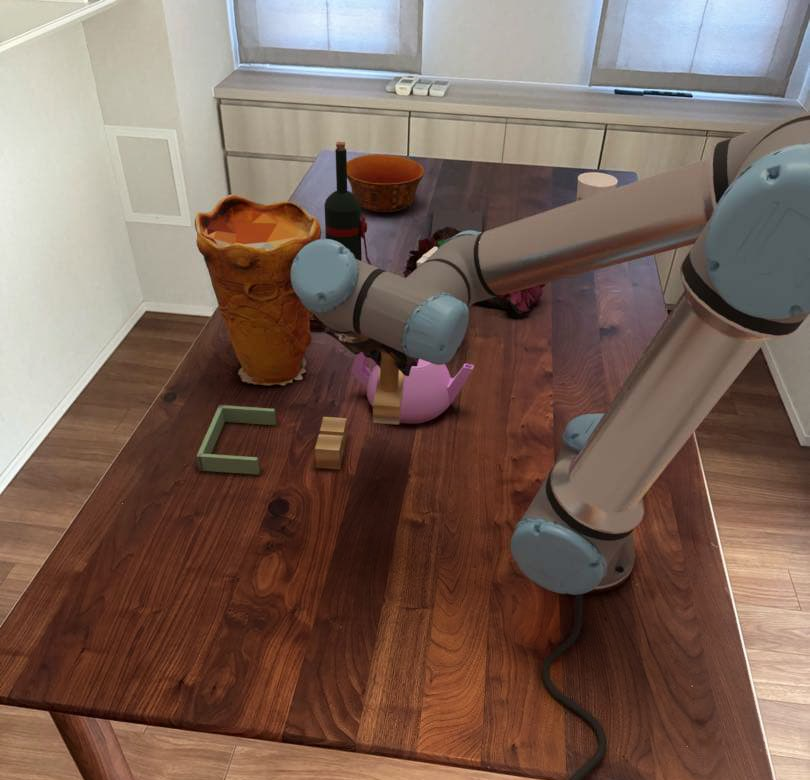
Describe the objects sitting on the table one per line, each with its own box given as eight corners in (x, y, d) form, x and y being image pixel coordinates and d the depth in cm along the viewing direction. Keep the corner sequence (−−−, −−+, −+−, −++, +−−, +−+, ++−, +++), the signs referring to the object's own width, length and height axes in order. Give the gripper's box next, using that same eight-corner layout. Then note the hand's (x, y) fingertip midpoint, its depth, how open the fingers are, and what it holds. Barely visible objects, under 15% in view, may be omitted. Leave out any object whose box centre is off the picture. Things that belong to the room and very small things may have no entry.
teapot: (339, 417, 141) (337, 358, 133) (364, 372, 152) (363, 314, 144) (460, 437, 138) (466, 377, 129) (476, 390, 149) (482, 332, 140)
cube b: (344, 451, 134) (343, 432, 131) (320, 449, 134) (319, 430, 132) (347, 437, 137) (346, 418, 134) (324, 435, 137) (323, 416, 134)
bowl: (437, 202, 215) (439, 164, 208) (395, 229, 201) (396, 188, 195) (373, 186, 222) (373, 148, 215) (328, 210, 209) (327, 170, 202)
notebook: (433, 214, 209) (429, 248, 194) (433, 208, 208) (430, 242, 192) (481, 216, 209) (481, 251, 193) (482, 210, 207) (482, 244, 192)
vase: (201, 397, 145) (171, 235, 124) (233, 341, 159) (211, 188, 138) (314, 408, 143) (303, 246, 122) (336, 351, 158) (330, 197, 137)
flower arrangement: (398, 310, 170) (399, 241, 160) (410, 270, 185) (412, 205, 174) (544, 323, 168) (554, 254, 158) (545, 281, 182) (555, 215, 172)
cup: (569, 222, 207) (575, 183, 200) (574, 208, 214) (580, 170, 207) (607, 228, 205) (615, 188, 198) (611, 213, 212) (619, 175, 205)
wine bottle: (370, 295, 175) (369, 151, 154) (324, 292, 176) (317, 148, 155) (374, 279, 181) (374, 138, 160) (329, 276, 181) (324, 135, 160)
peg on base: (399, 424, 120) (401, 340, 110) (372, 423, 120) (373, 338, 110) (404, 388, 127) (406, 306, 117) (379, 386, 127) (379, 304, 118)
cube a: (340, 469, 131) (339, 450, 128) (316, 468, 131) (314, 448, 128) (343, 454, 133) (342, 435, 131) (319, 453, 134) (318, 433, 131)
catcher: (258, 474, 129) (256, 460, 127) (199, 470, 130) (196, 456, 127) (276, 422, 140) (274, 408, 138) (221, 419, 140) (219, 404, 138)
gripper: (292, 332, 102) (344, 378, 125) (409, 356, 98) (440, 399, 121) (307, 275, 102) (356, 332, 125) (424, 298, 98) (453, 351, 121)
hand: (397, 365), depth 123 cm, fingers closed on peg on base, 3 cm apart
